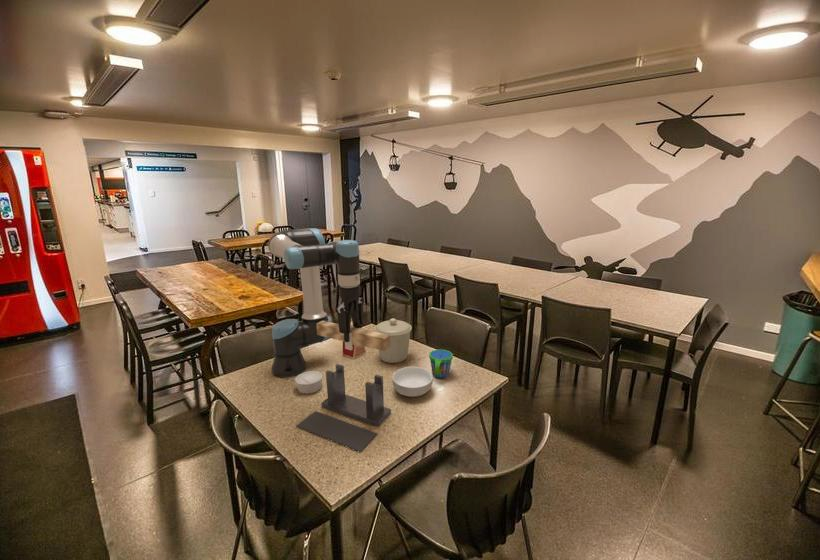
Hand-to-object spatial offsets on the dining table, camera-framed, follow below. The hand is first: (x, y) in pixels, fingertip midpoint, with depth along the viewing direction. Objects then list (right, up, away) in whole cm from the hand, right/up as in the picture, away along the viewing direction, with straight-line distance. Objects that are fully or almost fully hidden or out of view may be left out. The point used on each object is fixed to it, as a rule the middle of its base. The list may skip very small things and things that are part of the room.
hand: (352, 346), depth 134 cm
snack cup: (+35, -19, +33) cm, 51 cm away
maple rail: (0, +2, -1) cm, 2 cm away
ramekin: (-22, -22, +23) cm, 38 cm away
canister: (+13, -15, +48) cm, 52 cm away
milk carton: (-8, -14, +54) cm, 56 cm away
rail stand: (0, -26, +7) cm, 27 cm away
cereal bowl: (+22, -22, +20) cm, 37 cm away
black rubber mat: (-5, -29, -5) cm, 30 cm away
